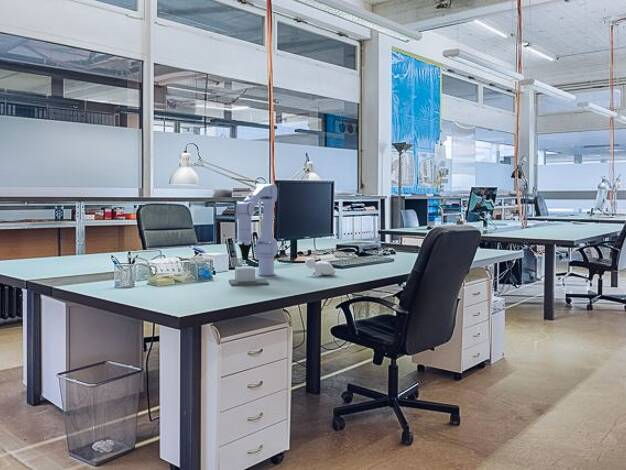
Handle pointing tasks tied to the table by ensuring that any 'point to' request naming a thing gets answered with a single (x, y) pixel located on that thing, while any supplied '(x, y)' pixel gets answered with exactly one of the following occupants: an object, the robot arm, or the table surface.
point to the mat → (257, 282)
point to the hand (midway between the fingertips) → (245, 259)
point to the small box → (245, 274)
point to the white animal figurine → (320, 267)
